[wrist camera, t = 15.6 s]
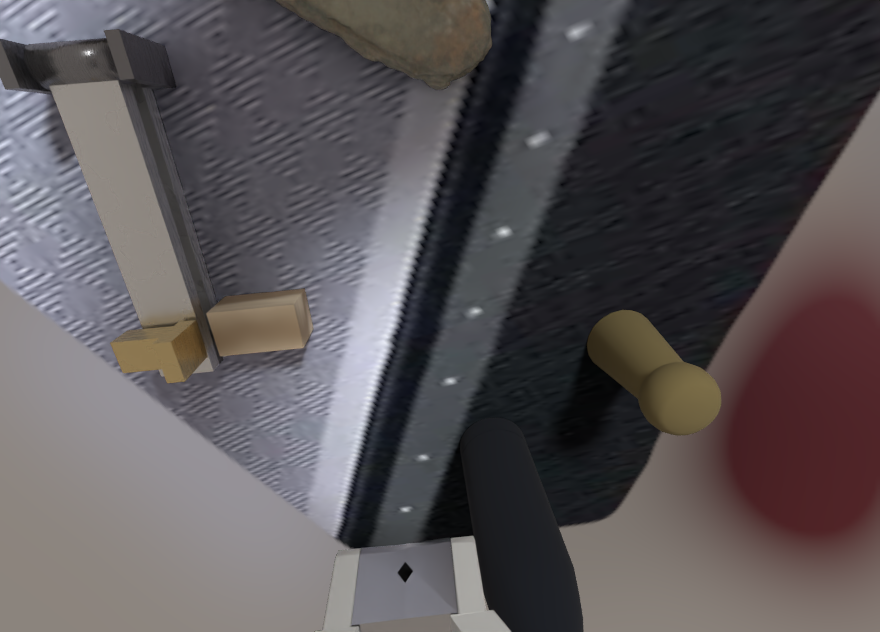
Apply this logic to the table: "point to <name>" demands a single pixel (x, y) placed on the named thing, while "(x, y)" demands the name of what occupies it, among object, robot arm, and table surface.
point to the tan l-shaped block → (162, 350)
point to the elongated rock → (408, 33)
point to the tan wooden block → (261, 322)
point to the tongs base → (148, 72)
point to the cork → (654, 373)
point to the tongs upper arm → (122, 181)
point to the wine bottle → (517, 533)
